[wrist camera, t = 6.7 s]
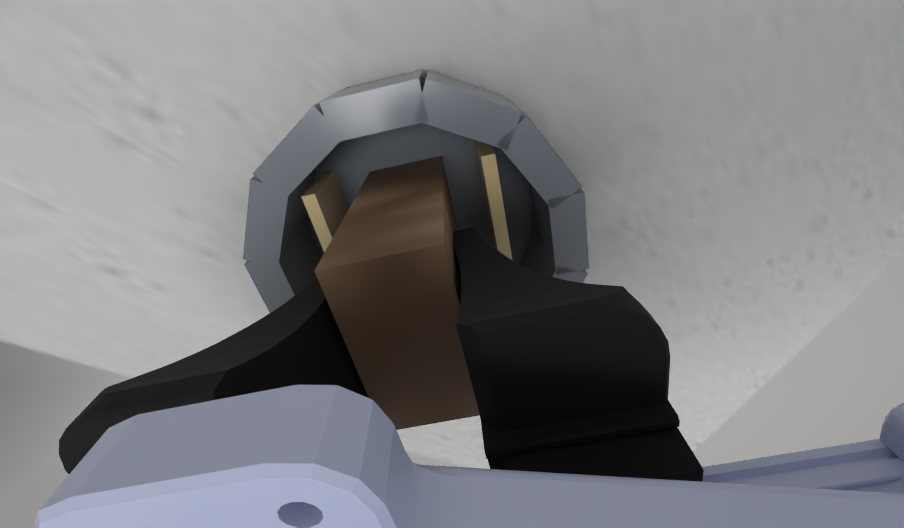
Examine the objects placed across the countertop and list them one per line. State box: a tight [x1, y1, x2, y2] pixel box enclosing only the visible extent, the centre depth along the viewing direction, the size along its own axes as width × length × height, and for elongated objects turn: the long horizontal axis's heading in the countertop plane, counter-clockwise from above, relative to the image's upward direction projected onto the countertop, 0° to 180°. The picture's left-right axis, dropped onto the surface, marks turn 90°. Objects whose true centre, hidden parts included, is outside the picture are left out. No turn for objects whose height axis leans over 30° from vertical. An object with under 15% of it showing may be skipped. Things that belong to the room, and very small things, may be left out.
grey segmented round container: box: [243, 70, 589, 313], centre depth 14 cm, size 10×10×4 cm
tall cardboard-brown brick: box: [314, 155, 480, 430], centre depth 12 cm, size 2×4×7 cm, turn 12°
